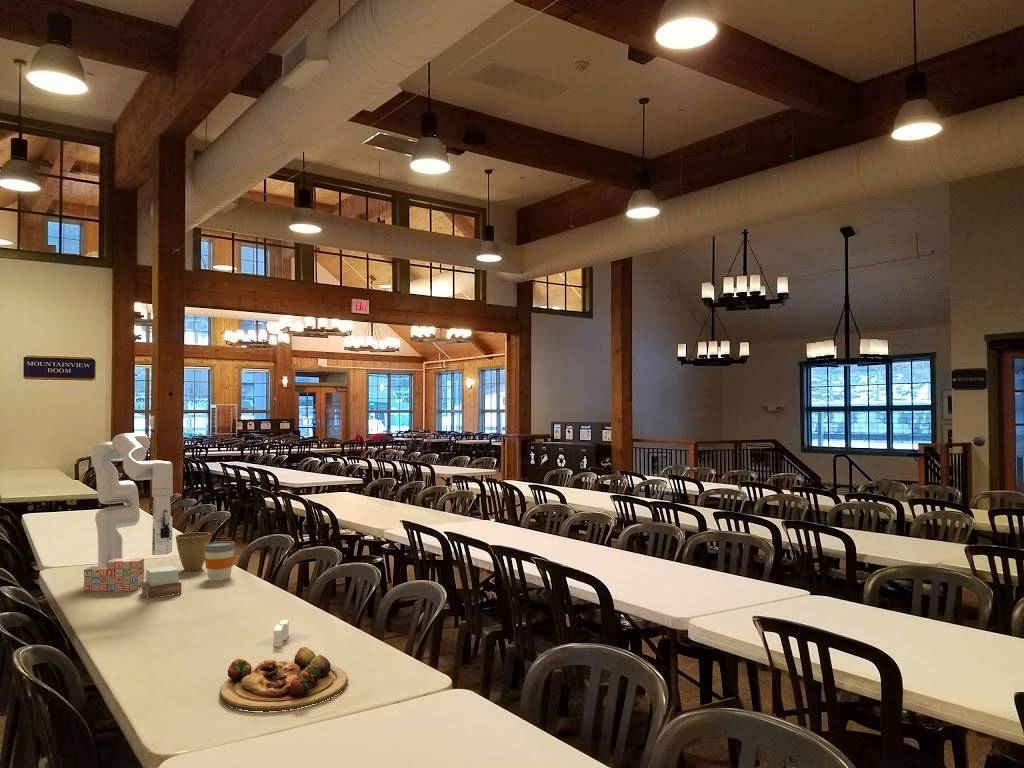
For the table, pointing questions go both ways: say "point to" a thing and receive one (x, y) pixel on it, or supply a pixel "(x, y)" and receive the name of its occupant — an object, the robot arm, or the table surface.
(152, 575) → the tower top block
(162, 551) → the syrup box
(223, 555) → the reusable coffee cup
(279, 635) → the napkin holder
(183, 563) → the plant pot
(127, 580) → the stack of blocks
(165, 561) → the table surface
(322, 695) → the wooden plate with food
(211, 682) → the table surface
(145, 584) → the tower base block
